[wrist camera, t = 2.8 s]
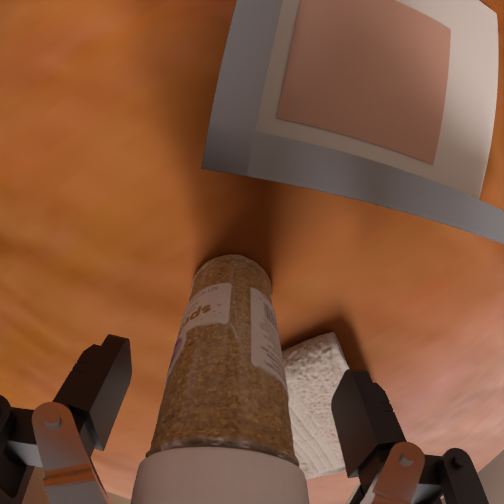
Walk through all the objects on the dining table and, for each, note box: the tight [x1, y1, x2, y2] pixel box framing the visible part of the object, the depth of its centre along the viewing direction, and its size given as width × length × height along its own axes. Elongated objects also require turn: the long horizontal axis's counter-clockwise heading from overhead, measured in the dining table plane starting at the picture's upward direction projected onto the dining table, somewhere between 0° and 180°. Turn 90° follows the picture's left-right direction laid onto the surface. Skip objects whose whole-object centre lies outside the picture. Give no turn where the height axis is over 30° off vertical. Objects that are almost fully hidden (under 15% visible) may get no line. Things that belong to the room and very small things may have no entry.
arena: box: [201, 0, 504, 244], centre depth 10 cm, size 16×16×5 cm
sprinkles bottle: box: [131, 254, 309, 504], centre depth 11 cm, size 5×5×14 cm
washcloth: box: [282, 332, 349, 480], centre depth 21 cm, size 12×18×3 cm, turn 26°
